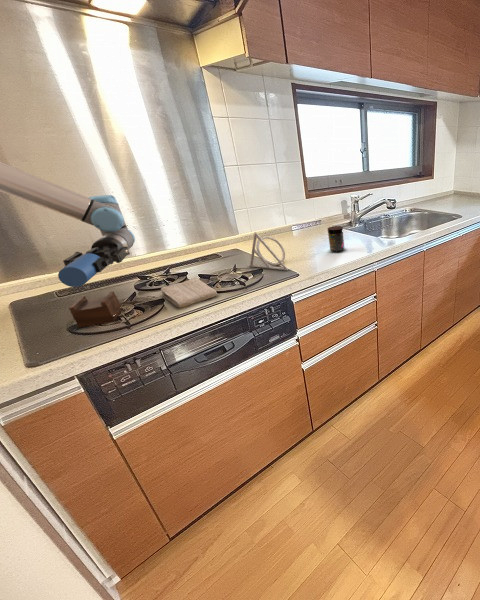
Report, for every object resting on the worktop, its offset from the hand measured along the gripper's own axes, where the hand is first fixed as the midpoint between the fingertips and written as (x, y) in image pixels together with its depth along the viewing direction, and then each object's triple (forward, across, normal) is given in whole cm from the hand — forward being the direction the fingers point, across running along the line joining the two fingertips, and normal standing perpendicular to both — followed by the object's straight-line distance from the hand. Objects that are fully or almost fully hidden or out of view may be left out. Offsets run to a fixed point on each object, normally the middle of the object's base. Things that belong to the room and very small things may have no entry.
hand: (82, 269), depth 90 cm
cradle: (+2, 0, -14) cm, 14 cm away
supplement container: (-29, -78, -14) cm, 85 cm away
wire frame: (-22, -50, -14) cm, 57 cm away
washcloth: (-4, -22, -14) cm, 26 cm away
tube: (0, 0, 0) cm, 0 cm away
